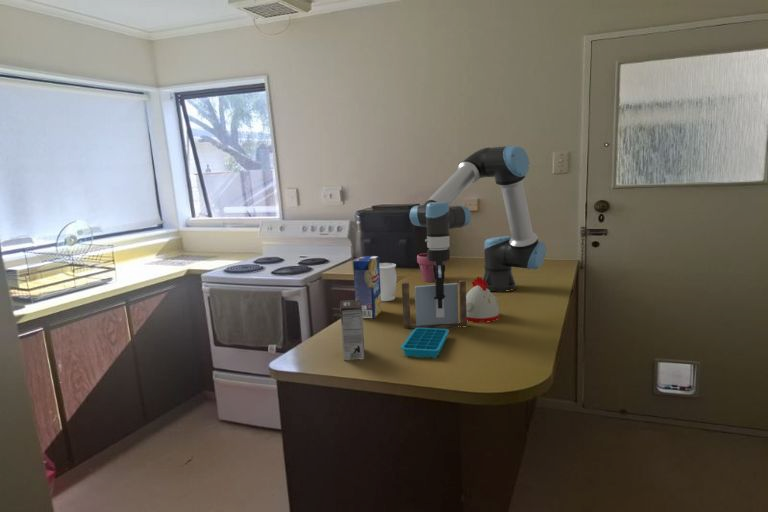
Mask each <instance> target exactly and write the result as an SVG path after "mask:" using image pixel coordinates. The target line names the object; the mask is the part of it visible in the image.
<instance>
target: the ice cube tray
mask: <svg viewBox="0 0 768 512" xmlns="http://www.w3.org/2000/svg"><path fill="white" fill-rule="evenodd" d="M449 333H450V330H449V329H448V328H415V329H413V330H412V331H411V332H410V334H409V335H408V337H406V339H405V341H404V342H403V343H402V344H401V346H400V350H402V351H403V353H404V355H403V356H405V355H406V356H405V357H408V356H418V357H417V358H424V357H432V358H431V359H435V357H436V358H437V356H438V357H439V355H440V353H441V351H442V349H443V346H444V345H445V342H446V341H447V337H448V335H449ZM440 350H441V351H440ZM439 352H440V353H439ZM438 354H439V355H438Z"/></svg>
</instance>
